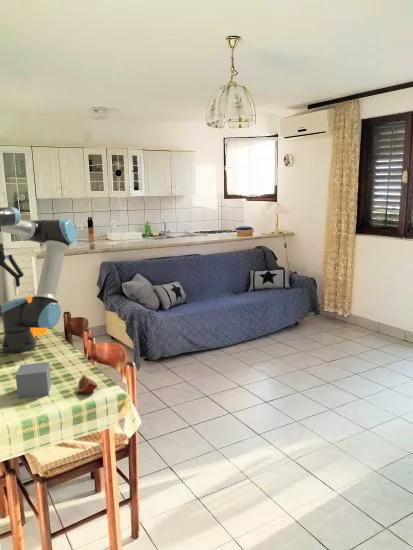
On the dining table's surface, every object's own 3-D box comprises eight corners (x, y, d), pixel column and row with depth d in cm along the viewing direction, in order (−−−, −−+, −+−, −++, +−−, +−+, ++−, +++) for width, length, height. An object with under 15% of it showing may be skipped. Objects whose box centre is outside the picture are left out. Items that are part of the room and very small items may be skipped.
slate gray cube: (22, 387, 169) (20, 364, 167) (51, 383, 171) (49, 361, 170) (18, 398, 159) (15, 375, 158) (48, 395, 161) (46, 371, 160)
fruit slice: (75, 389, 165) (74, 376, 164) (93, 385, 169) (92, 372, 168) (82, 398, 158) (81, 384, 157) (101, 393, 162) (99, 380, 161)
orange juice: (33, 337, 229) (29, 299, 226) (25, 334, 235) (21, 297, 231) (47, 333, 235) (44, 296, 231) (39, 330, 241) (35, 294, 237)
